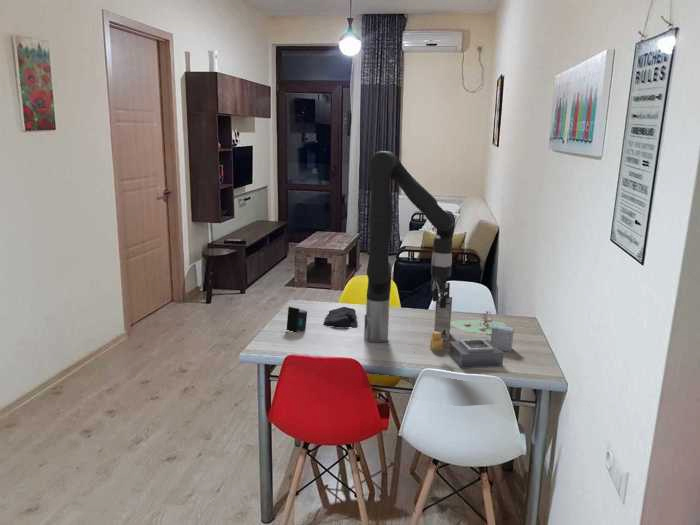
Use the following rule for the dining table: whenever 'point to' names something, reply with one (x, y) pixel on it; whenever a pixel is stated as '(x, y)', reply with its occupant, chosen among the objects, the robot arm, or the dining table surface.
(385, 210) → the robot arm
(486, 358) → the block
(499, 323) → the plant
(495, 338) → the medicine box
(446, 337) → the coffee box
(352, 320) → the dark slate chunk
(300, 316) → the speaker
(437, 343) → the tan stepped cylinder
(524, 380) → the dining table surface
